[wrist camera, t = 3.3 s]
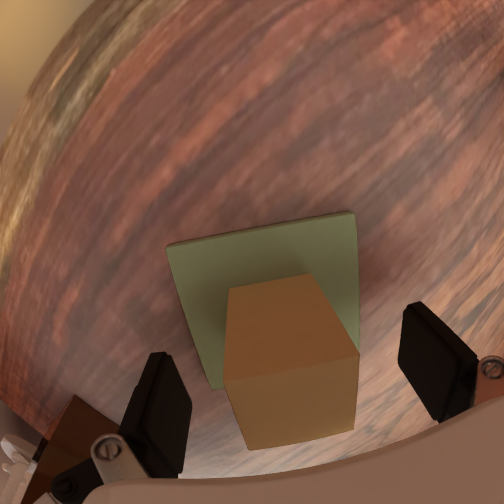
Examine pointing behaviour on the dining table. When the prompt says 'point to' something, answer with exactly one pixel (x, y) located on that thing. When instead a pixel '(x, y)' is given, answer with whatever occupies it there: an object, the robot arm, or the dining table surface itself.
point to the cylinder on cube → (62, 448)
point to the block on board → (259, 263)
